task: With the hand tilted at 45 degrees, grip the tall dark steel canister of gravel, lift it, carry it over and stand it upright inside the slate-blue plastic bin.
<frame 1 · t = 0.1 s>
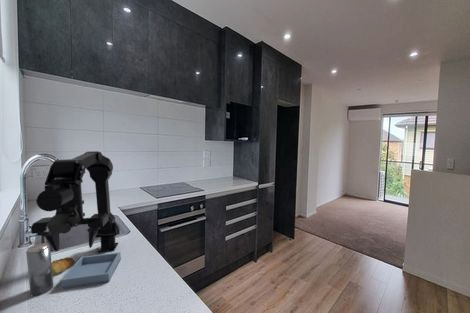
hand: (74, 248, 67), 15 cm above the worktop, tool pointing down, fingers open, 9 cm apart
pastry: (58, 270, 80), on the worktop
bin: (94, 272, 78), on the worktop
canister: (42, 289, 69), on the worktop
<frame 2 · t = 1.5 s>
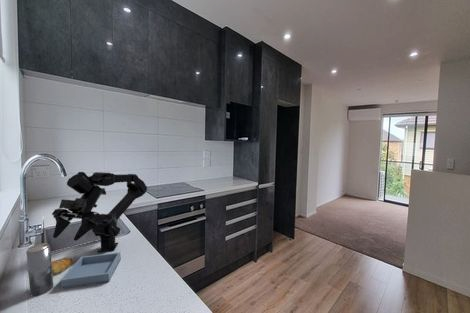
hand: (64, 239, 76), 13 cm above the worktop, tool tilted 45°, fingers open, 9 cm apart
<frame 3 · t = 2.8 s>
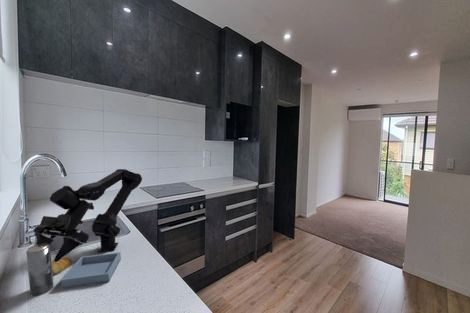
hand: (44, 259, 70), 10 cm above the worktop, tool tilted 45°, fingers open, 9 cm apart
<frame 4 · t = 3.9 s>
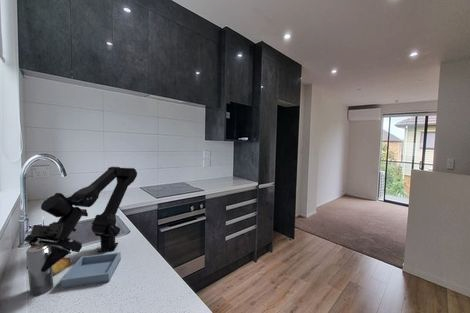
hand: (35, 270, 67), 8 cm above the worktop, tool tilted 45°, fingers closed on canister, 6 cm apart
canister: (42, 289, 69), on the worktop, touching gripper
everything else where it was.
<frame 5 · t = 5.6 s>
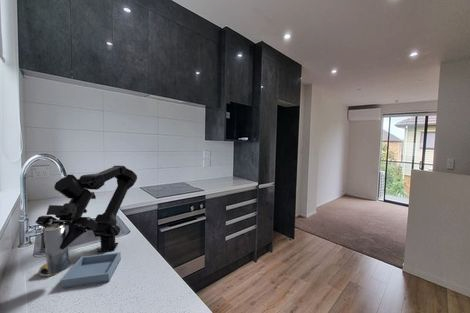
hand: (53, 248, 69), 14 cm above the worktop, tool tilted 45°, fingers closed on canister, 6 cm apart
canister: (59, 268, 71), point 6 cm above the worktop, touching gripper
when the fingers open (10 cm above the worktop, at t = 7.5 s): canister drops 1 cm, resting on bin.
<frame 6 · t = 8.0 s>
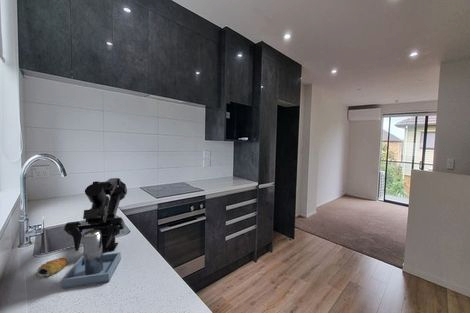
hand: (91, 249, 76), 10 cm above the worktop, tool tilted 45°, fingers open, 9 cm apart
canister: (94, 270, 78), point 1 cm above the worktop, touching bin
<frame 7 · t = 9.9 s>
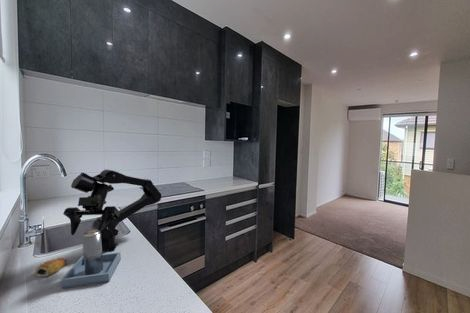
hand: (85, 234, 80), 13 cm above the worktop, tool tilted 40°, fingers open, 9 cm apart
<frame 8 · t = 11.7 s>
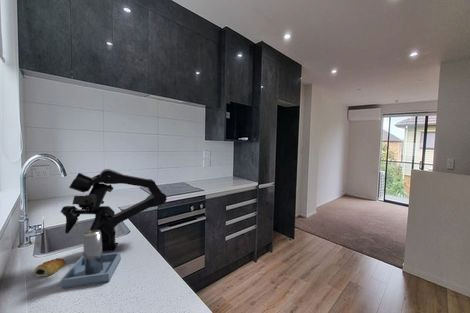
hand: (78, 233, 80), 14 cm above the worktop, tool tilted 45°, fingers open, 9 cm apart
at the end: canister inside the target area on the bin (0.1 cm from its centre), point 0.6 cm above the bin's base; canister tilted 1°; the gripper is holding nothing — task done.
